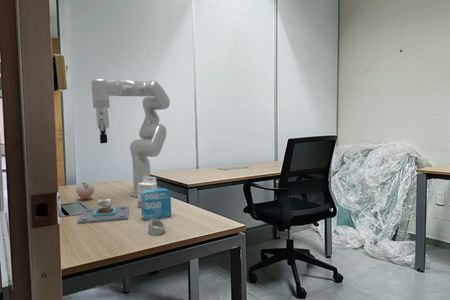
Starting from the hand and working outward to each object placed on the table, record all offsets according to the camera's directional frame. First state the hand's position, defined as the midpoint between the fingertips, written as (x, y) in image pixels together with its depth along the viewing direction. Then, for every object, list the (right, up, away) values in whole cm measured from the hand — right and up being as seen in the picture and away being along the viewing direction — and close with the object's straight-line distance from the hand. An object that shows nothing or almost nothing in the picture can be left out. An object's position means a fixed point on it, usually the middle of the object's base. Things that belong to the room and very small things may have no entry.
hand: (103, 142), depth 168 cm
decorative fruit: (-16, -31, +19) cm, 40 cm away
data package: (+29, -33, -18) cm, 48 cm away
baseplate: (+6, -33, -14) cm, 36 cm away
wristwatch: (+33, -35, -38) cm, 62 cm away
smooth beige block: (+6, -32, -14) cm, 35 cm away
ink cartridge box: (+22, -32, 0) cm, 38 cm away
